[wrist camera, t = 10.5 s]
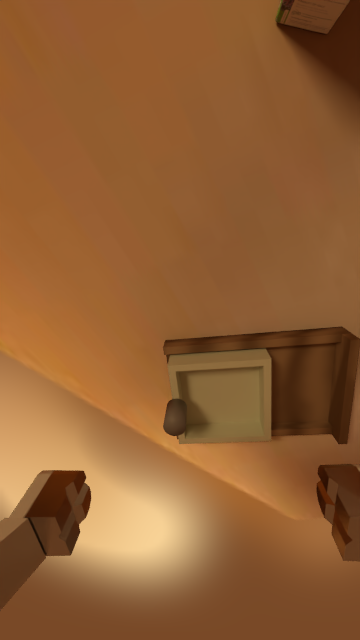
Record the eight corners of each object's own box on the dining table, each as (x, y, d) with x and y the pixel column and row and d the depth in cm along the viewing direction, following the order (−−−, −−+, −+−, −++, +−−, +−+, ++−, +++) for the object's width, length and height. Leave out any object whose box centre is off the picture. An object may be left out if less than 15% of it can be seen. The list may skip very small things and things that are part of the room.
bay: (341, 326, 36) (360, 339, 32) (332, 422, 42) (347, 443, 38) (165, 340, 39) (161, 353, 35) (178, 428, 45) (176, 448, 41)
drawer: (264, 345, 37) (280, 375, 30) (264, 421, 42) (279, 464, 34) (164, 352, 39) (155, 382, 31) (175, 425, 43) (170, 466, 36)
